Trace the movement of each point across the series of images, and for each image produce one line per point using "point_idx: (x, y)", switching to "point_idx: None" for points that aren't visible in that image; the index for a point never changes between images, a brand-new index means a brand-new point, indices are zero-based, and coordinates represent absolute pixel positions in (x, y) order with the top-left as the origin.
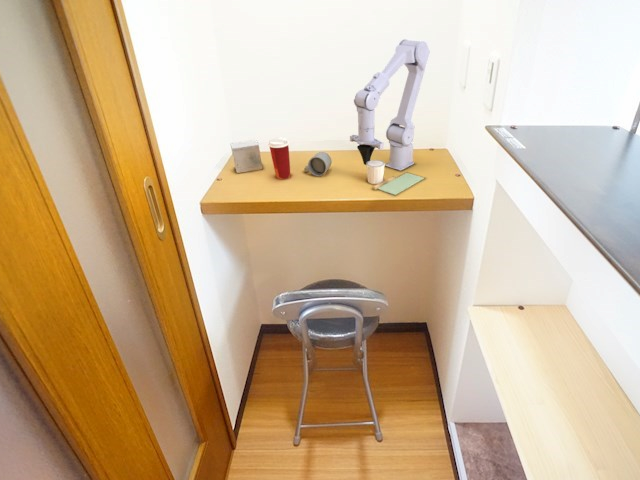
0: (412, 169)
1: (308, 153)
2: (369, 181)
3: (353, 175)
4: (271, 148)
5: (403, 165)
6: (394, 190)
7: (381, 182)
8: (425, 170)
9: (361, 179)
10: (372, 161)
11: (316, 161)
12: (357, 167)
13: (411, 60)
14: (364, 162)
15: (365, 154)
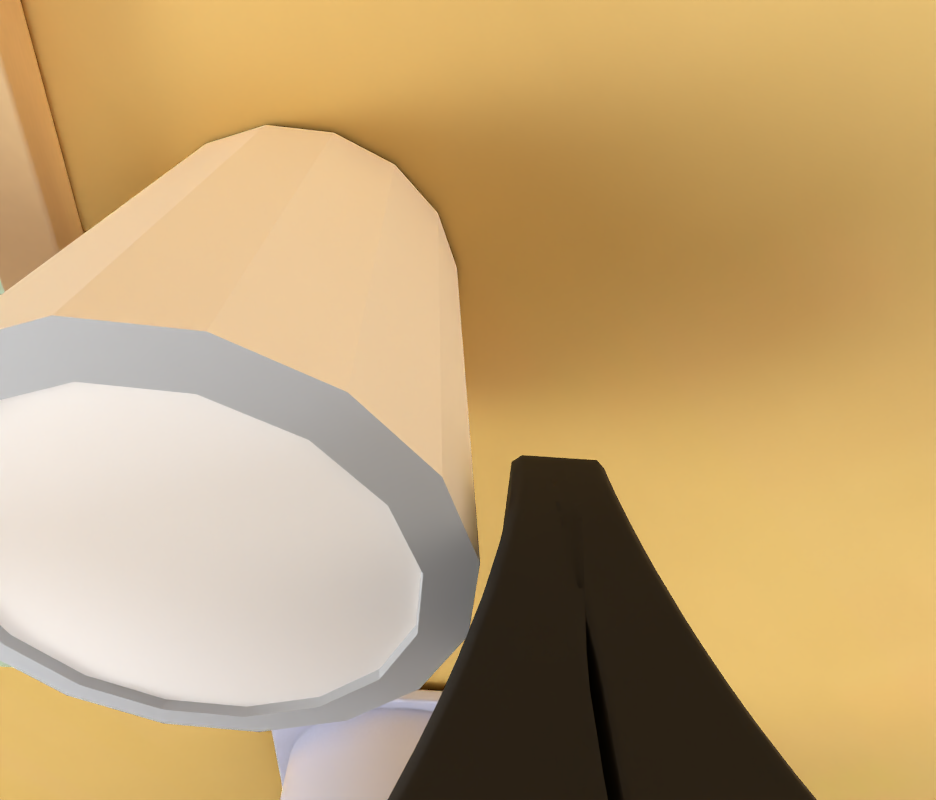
0: (204, 745)
1: None
2: (312, 140)
3: (863, 248)
4: None
5: (288, 768)
6: None
7: (35, 218)
8: (81, 772)
9: (593, 182)
10: (354, 621)
11: None
12: (927, 528)
13: None
14: (559, 497)
15: (444, 794)
